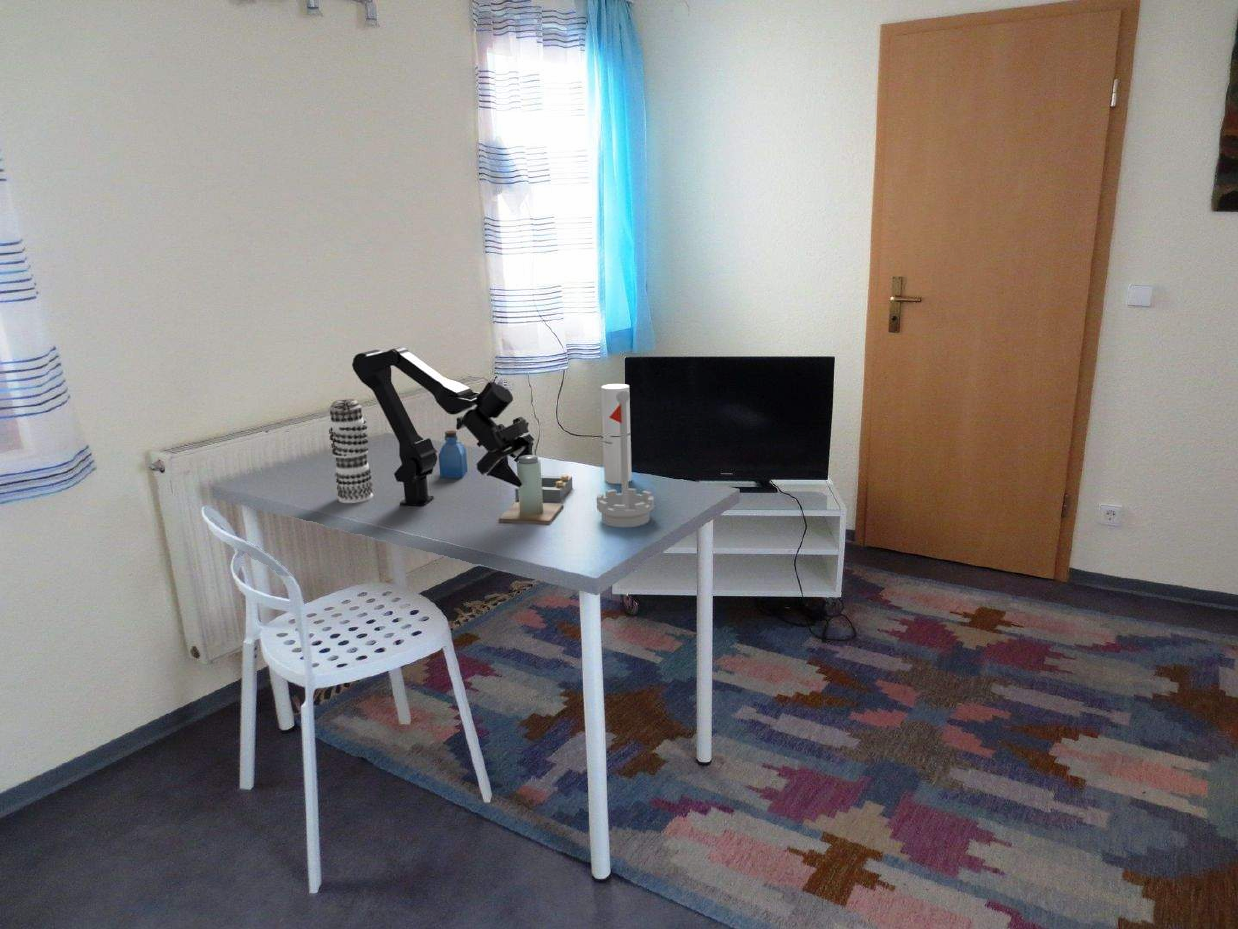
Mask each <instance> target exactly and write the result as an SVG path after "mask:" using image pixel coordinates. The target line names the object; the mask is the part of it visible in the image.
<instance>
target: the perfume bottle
mask: <svg viewBox="0 0 1238 929" xmlns="http://www.w3.org/2000/svg"><path fill="white" fill-rule="evenodd" d="M444 434H445V435H444V442H445V443H444V444H443V445H442V446H441V449H440V452H439V454H438V465H439V468H438V469H439V477H440V478H441V479H444V478H445V479H447V478H448V479H449V478H452V479H453V478H464V477H465V476H466V474H467V473H468V461H467V449H466V448H465V447H464V446H465V445H463V444H462V442H461V441H458V435H457V430H446V431H444Z"/></svg>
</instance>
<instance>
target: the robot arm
mask: <svg viewBox="0 0 1238 929" xmlns="http://www.w3.org/2000/svg"><path fill="white" fill-rule="evenodd" d="M351 367H352V369H353V370H352V371H354V373H355V375H357V378H358V379H359V381H360V382H361V383H363V384H364V385H365V386H366V387H367V388H369V390H371V391H372V393H373V394H374V396H375V398H376V400H377V402H378V404H379V406H380V408H381V410H382V412H383V415H384V416H385V417H386V420H387V422H388V423H389V425H390V427H391V430H392V432H393V433H394V436H395V438H396V439H397V442H398V444H399V448H398V449H399V450H398V456H399V459H400V462H401V465H400V466H399V467H398V468H397V469H396V470H395V472H394V473H393V475H394V478H395V480H396V482H397V483H398V482H399V483H403V492H404V493H403V494H404V499H402V500H401V501H399V505H404V506H425V505H426V504H428V503H429V502H431V501H432V500H433V499H435V496H434V495H429V488H428V479H427V476H429V475H433V472H434V468H435V467H436V466H437V462H438V455H437V453H438V451H437V449H436V447H434V445H433V442H432V439H431V438H430V437H426V438H423V437H422V436H421V435H419V433H418V432H417V430H416V428H415V426H414V423H413V422H412V419H411V418H410V416H409V414H408V412H407V410H406V408H405V406H404V404H403V402H402V401H401V398H400V396H399V395H398V392H397V390H396V388H395V386H394V385H393V382H392V367H395V368H396V369H397V370H399V371H401V372H402V373H403V374H405V375H406V376H407V377H409V378H410V379H411V380H412V381H414V382H416V383H417V384H418V385H420V386H421V387H422V388H424V389H425V390H427V391H428V392H430V394H431V395H432V396H433V398H434V400H435V401H436V403H437V405H439V407H440V408H441V409H443V410H444V412H446V413H447V414H449V415H458V414H461V413H463V412H466V413H464V415H463V416H462V415H461V416H458V417H456V426H455V428H456V431H457V430H461V429H464V428H466V429H467V430H468V431H469V432H470V433H471V434H472V436H474V438H475V439H476V440H477V443H476V445H477V446H478V448H481V447H483V448H484V449H485V450H486V451H487V452H486V453H485V454H484V455H483V456H482V458H481V459H480V460H478V462H477V463H476V470H477V471H478V472H479V474H480V475H481V476H484V475H486V476H487V477H493V478H495V479H498V480H501V481H504V482H506V483H508V484H510V485H513V486H515V487H521V485H522V483H521V481H520V479H519V478H518V477H517V474H516V473H515V472H514V470H513V469H512V467H511V466H510V465H509V458H508V457H511V458H513V459H514V460H513V462H515V463H516V462H517V461H519V457H521V456H524V455H534V454H533V446H534V441H535V438H534V437H533V436H532V435H531V434H530V433H529V432H530V431H529V429H528V427H529V425H530V423H529V421H527V420H526V419H525V418H524V417H522V416H521V415H520V416H518V417H516V418H514V419H512V424H510V425H508V426H505V425H504V424H502V423H499V424H497V423H496V422H495V421H494V419H497V418H499V416H501V414H502V413H503V412H504V411H505V410H506V409H507V408H508V407H509V405H510V404H511V403H512V402H513V401H514V397H513V395H512V393H511V391H510V390H509V389H508V388H505V386H503V385H501V384H499V383H498V384H497V383H496V382H495V381H494V380H491V381H488V382H487V384H485V386H484V388H483V389H482V391H481V392H479V391H473V389H471V388H470V387H469V386H467V385H464V384H462V383H461V382H459V381H457V380H456V381H455V380H451V379H448V378H446V377H444V376H443V375H442V374H440V373H439V372H437V371H436V370H435V369H434V368H432V367H430V366H429V365H428V364H426V363H425V362H424V361H423V360H421V359H419V358H418V357H417V356H416V355H414V354H412V353H411V352H410V350H409V349H408V348H406V347H405V346H404V347H403V346H399V347H396V348H392V349H389V350H387V351H382V350H380V349H372V350H369V351H368V350H367V351H364V352H359V353H357V354H356V355H355V356H354V357H353V360H352V364H351ZM473 406H475V407H474V409H472V408H473Z"/></svg>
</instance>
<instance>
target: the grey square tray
mask: <svg viewBox="0 0 1238 929" xmlns="http://www.w3.org/2000/svg"><path fill="white" fill-rule="evenodd" d="M541 479H542V495H543V502H553V501H554V502H555V503H556V502H557V503H558V502H559V503H561V502H562V501H563V500H564V498H566V496H567V495H568V494H569V493H570V491H571V490H572V489H573V476H569V475H541ZM514 492H515V495H514V497H515V501H519V492H518V487H517V486H515V488H514ZM568 492H569V493H568ZM562 499H563V500H562ZM554 502H553V503H554Z"/></svg>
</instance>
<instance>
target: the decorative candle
mask: <svg viewBox="0 0 1238 929" xmlns="http://www.w3.org/2000/svg"><path fill="white" fill-rule="evenodd" d="M362 407H363V405H362V404H360V403H359V402H358V400H356V399H352V398H345V399H338V400H335V401H333V402H332V403H331V405H330V406H329V407H328V408H327V409H328V410H329V412H330V413H329V416H330V420H329V422H330V428H329V430H328V434H329V440H330V441H331V442H332V443H331V445H330V447H331V448H332V449H331V450H332V452H331V454H332V455H333V457H335V463H336V465H335V471H336V472H335V475H334V476H335V477H336V479H335V482H336V483H337V485H336V490H337V496H338V501H339V502H340V503H344V504H356V503H362V502H367V501H369V500H371V499H372V498H374V494H373V491H374V489H373V487H372V486H373V482H372V481H371V479H372V475H370V474H371V471H372V470H371V469H370V468H369V467H370V466H369V462H368V456H367V454H368V453H369V447H366V444H368V443H369V440H368V439H366V438H367V437H368V434H367V433H366V432H364V431H365V430H367V429H368V426H367V425H365V424H366V423H367V421H366V420H364V416H363V411H362Z"/></svg>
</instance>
